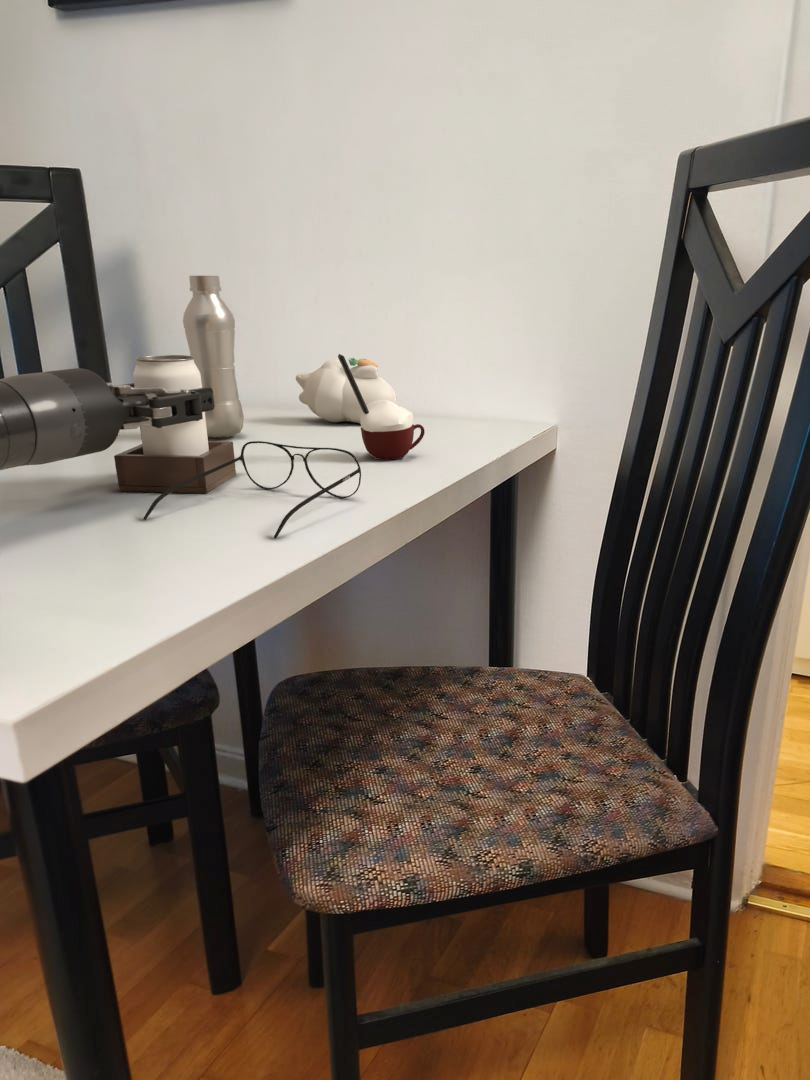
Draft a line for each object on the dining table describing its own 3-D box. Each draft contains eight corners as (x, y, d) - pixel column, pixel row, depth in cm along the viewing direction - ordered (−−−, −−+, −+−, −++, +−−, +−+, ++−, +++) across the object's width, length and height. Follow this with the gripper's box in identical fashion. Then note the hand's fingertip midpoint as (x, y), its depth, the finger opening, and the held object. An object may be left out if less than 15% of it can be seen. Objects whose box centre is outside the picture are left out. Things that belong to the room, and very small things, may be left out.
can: (196, 468, 98) (183, 353, 93) (222, 478, 93) (209, 358, 88) (137, 475, 94) (120, 356, 89) (161, 486, 89) (145, 361, 84)
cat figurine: (401, 356, 128) (300, 341, 129) (389, 391, 123) (284, 376, 124) (403, 408, 136) (308, 394, 137) (391, 444, 131) (292, 429, 132)
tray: (118, 491, 90) (113, 455, 88) (155, 472, 98) (151, 439, 97) (207, 493, 89) (203, 457, 88) (236, 474, 98) (233, 441, 96)
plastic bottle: (184, 440, 117) (165, 275, 109) (213, 431, 123) (197, 275, 115) (228, 443, 115) (211, 276, 107) (255, 434, 121) (241, 275, 113)
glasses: (366, 500, 87) (361, 450, 85) (279, 557, 75) (270, 501, 73) (246, 486, 92) (238, 438, 90) (146, 537, 80) (134, 484, 78)
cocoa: (425, 452, 110) (424, 351, 105) (421, 462, 104) (419, 355, 100) (349, 451, 110) (344, 350, 106) (340, 461, 104) (335, 355, 100)
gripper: (104, 377, 74) (230, 360, 87) (-17, 368, 79) (119, 354, 93) (118, 467, 77) (237, 438, 90) (-1, 452, 82) (130, 427, 96)
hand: (177, 395), depth 91 cm, fingers open, 8 cm apart
